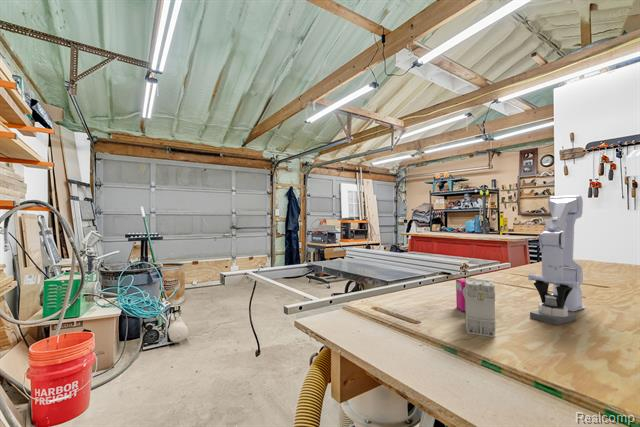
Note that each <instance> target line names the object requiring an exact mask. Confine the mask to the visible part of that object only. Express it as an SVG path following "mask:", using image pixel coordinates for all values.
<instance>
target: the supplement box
mask: <svg viewBox="0 0 640 427" xmlns="http://www.w3.org/2000/svg"><path fill="white" fill-rule="evenodd" d="M465 279H466V278H456V279H455V289H456V290H455V295H456V297H455V298H456V308H457V310H459V311H460V312H461V313H466V312H465Z"/></svg>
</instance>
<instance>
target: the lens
mask: <svg viewBox="0 0 640 427" xmlns="http://www.w3.org/2000/svg"><path fill="white" fill-rule="evenodd" d="M544 297H545V306H546V307H550V308H557V309H561V307H558V294H556V293H553V292H548V293H545V294H544Z"/></svg>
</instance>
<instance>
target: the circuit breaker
mask: <svg viewBox="0 0 640 427" xmlns="http://www.w3.org/2000/svg"><path fill="white" fill-rule="evenodd" d="M464 279H465V312H464V313H465V328H466V329H465V330H466V334H471V335H477V336H483V337H492V338H496V335H495V334H496V291H495V288H496V286H495V284H494V282H493V281H492V280H487V279H486V280H484V279H483V280H482V279H474V278H473V279H472V278H464Z"/></svg>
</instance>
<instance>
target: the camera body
mask: <svg viewBox="0 0 640 427" xmlns="http://www.w3.org/2000/svg"><path fill="white" fill-rule="evenodd" d="M529 318H530V319H532V320H537V321H539V320H540V321H539V322H543V321H544V322H543V323H546V322H548V323H547V324H550V323H551V324H550V325H553V324H554V325H553V326H556V325H557V326H560V324H561V325H564V324H567V322H568V323H571V322H574V320H575V321H577V314H576V313H572V312H569V310H568V308H567V307H565V306H564V307H561V309H557V308H550V307H546V306H545V303H542V302H539V303H538V309H536V310H534V311H530V312H529ZM570 321H571V322H570ZM563 323H564V324H563Z"/></svg>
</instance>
